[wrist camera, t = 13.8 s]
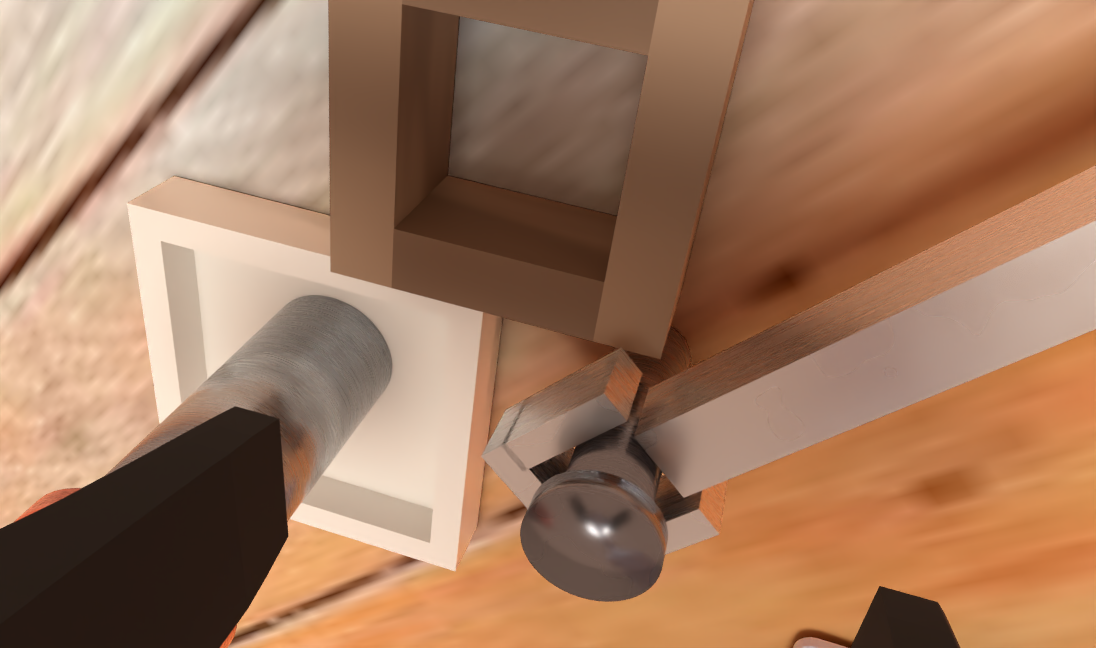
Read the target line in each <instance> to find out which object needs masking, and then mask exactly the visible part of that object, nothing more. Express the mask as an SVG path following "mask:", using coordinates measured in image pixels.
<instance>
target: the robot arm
mask: <svg viewBox="0 0 1096 648" xmlns="http://www.w3.org/2000/svg"><path fill="white" fill-rule="evenodd" d="M287 538H288V525H287V512H286V499H285V485H284V472H283V459H282V445H281V432H280V419H279V418H276V417H272V416H269V415H265V414H262V413H258V412H254V411H251V410H247V409H244V408H240V407H236V406H234V407H233V408H231V409H229V410H227V411H225V412H223V413H221V414H219V415H217V416H215V417H213V418H211V419H209V420H207V421H205V422H204V423H202V424H200V425H198V426H196V427H194V428H192V429H191V430H189V431H187V432H185V433H183V434H181V435H180V436H178V437H176V438H174V439H172V440H171V441H169V442H167V443H165V444H163V445H161V446H160V447H158V448H156V449H154V450H152V451H150V452H149V453H147V454H145V455H143V456H141V457H140V458H138V459H136V460H134V461H132V462H130V463H128V464H127V465H125V466H123V467H121V468H119V469H117V470H115V471H113V472H112V473H110V474H108V475H106V476H104V477H102V478H100V479H98V480H97V481H95V482H93V483H91V484H89V485H87V486H85V487H83V488H81V489H80V490H78V491H76V492H74V493H72V494H70V495H68V496H66V497H64V498H63V499H61V500H59V501H57V502H55V503H53V504H51V505H48V506H46V507H44V508H42V509H40V510H38V511H36V512H34V513H32V514H30V515H28V516H26V517H24V518H22V519H20V520H18V521H16V522H14V523H11V524H9V525H7V526H5V527H3V528H1V529H0V648H220V647H221V645H222V644H223V642H224V641H225V640H226V638H227V637H228V636H229V634H230V633H231V631H232V630H233V629H234V627H235V626H236V624H237V623H238V622H239V620H240V619H241V617H242V616H243V615H244V613H245V612H246V610H247V609H248V607H249V606H250V604H251V602H252V601H253V599H254V597H255V595H256V594H257V592H258V590H259V588H260V587H261V585H262V583H263V582H264V580H265V578H266V576H267V575H268V573H269V571H270V569H271V567H272V565H273V564H274V562H275V560H276V558H277V556H278V554H279V553H280V551H281V549H282V547H283V545H284V543H285V541H286V540H287ZM793 648H848V647H845V646H841V645H838V644H835V643H832V642H828V641H825V640H822V639H819V638H814V637H805V638H802V639H799V640H798V641H797V642H796V643H795V644H794V646H793ZM851 648H960V646H959V644H958V642H957V639H956V637H955V635H954V633H953V631H952V629H951V626H950V624H949V622H948V620H947V618H946V616H945V613H944V612H943V610H942V608H941V607H940V605H939V603H938V602H935V601H931V600H928V599H924V598H921V597H917V596H914V595H910V594H906V593H903V592H899V591H896V590H892V589H888V588H885V587H881V586H879V588H878V591H877V593H876V595H875V597H874V599H873V601H872V603H871V605H870V608H869V610H868V612H867V614H866V616H865V618H864V620H863V622H862V625H861V627H860V629H859V631H858V633H857V635H856V637H855V639H854V641H853V644H852V646H851Z"/></svg>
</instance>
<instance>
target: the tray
mask: <svg viewBox="0 0 1096 648" xmlns="http://www.w3.org/2000/svg"><path fill="white" fill-rule="evenodd" d="M127 207H128V214H129V221H130V227H131V234H132V241H133V248H134V254H135V261H136V268H137V275H138V281H139V288H140V295H141V302H142V308H143V315H144V322H145V329H146V335H147V342H148V349H149V356H150V362H151V369H152V376H153V383H154V389H155V396H156V403H157V410H158V417H159V423H161V422H162V421H164V420H165V419H166V418H167V417H168V416H169V415H170V414H171V413H172V412H173V411H174V410H175V409H176V408H177V407H178V406H179V405H180V404H182V403H183V402H184V401H185V400H186V399H187V398H188V397H189V396H190V395H191V394H192V393H193V392H194V391H195V390H196V389H197V388H198V387H199V386H201V385H202V384H203V383H204V382H205V381H206V380H207V379H208V378H209V377H210V376H211V375H212V374H213V373H214V372H215V371H216V370H217V369H219V368H220V367H221V366H222V365H223V364H224V363H225V362H226V361H227V360H228V359H229V358H230V357H231V356H232V355H233V354H234V353H235V352H236V351H238V350H239V349H240V348H241V347H242V346H243V345H244V344H245V343H246V342H247V341H248V340H249V339H250V338H251V337H252V336H253V335H254V334H255V333H257V332H258V331H259V330H260V329H261V328H262V327H263V326H264V325H265V324H266V323H267V322H268V321H269V320H270V319H271V318H272V317H273V316H275V315H276V314H277V313H278V312H279V311H280V310H281V309H282V308H283V307H284V306H285V305H286V304H288V303H289V302H290V301H292V300H294V299H296V298H299V297H303V296H308V295H321V296H328V297H332V298H335V299H338V300H341V301H343V302H345V303H347V304H349V305H351V306H353V307H354V308H356V309H358V310H359V311H360V312H362V313H363V314H364V315H365V316H366V317H368V318H369V319H370V320H371V321H372V322H373V324H374V325H375V326H376V327H377V328H378V330H379V331H380V332H381V334H382V335H383V337H384V339H385V341H386V343H387V345H388V348H389V350H390V354H391V358H392V375H391V379H390V382H389V384H388V386H387V388H386V389H385V391H384V392H383V394H382V395H381V396H380V398H379V399H378V400H377V402H376V403H375V404H374V406H373V407H372V408H371V410H370V411H369V412H368V414H367V415H366V416H365V418H364V419H363V420H362V422H361V423H360V425H359V426H358V427H357V429H356V430H355V431H354V433H353V434H352V435H351V437H350V438H349V439H348V441H347V442H346V443H345V445H344V446H343V447H342V449H341V450H340V451H339V453H338V454H337V456H336V457H335V458H334V460H333V461H332V462H331V464H330V465H329V466H328V468H327V469H326V470H325V472H324V473H323V474H322V476H321V477H320V478H319V480H318V481H317V482H316V484H315V485H314V487H313V488H312V489H311V491H310V492H309V493H308V495H307V496H306V497H305V499H304V500H303V501H302V503H301V504H300V505H299V507H298V508H297V509H296V511H295V512H294V513H293V515H292V516H291V517H290V519H291V520H294V521H298V522H301V523H304V524H307V525H310V526H313V527H317V528H320V529H323V530H326V531H329V532H332V533H336V534H339V535H342V536H345V537H348V538H351V539H354V540H358V541H361V542H364V543H367V544H370V545H373V546H377V547H380V548H383V549H386V550H389V551H392V552H396V553H399V554H402V555H405V556H408V557H411V558H414V559H418V560H421V561H424V562H427V563H430V564H433V565H437V566H440V567H443V568H446V569H449V570H452V571H456V569H457V567H458V565H459V563H460V561H461V559H462V557H463V555H464V553H465V551H466V549H467V547H468V545H469V542H470V540H471V538H472V536H473V534H474V532H475V530H476V528H477V524H478V516H479V507H480V499H481V491H482V483H483V474H484V466H485V460H484V459H483V458H482V457H481V456H482V454H483V452H484V450H485V448H486V446H487V442H488V433H489V425H490V417H491V409H492V401H493V392H494V384H495V376H496V368H497V359H498V351H499V343H500V335H501V327H502V318H503V317H499V316H495V315H491V314H488V313H484V312H480V311H476V310H472V309H469V308H465V307H461V306H457V305H454V304H450V303H446V302H442V301H439V300H435V299H431V298H427V297H423V296H420V295H416V294H412V293H408V292H405V291H401V290H397V289H393V288H390V287H386V286H382V285H378V284H375V283H371V282H367V281H363V280H359V279H356V278H352V277H348V276H344V275H341V274H337V273H333V272H330V216H329V215H326V214H322V213H318V212H314V211H310V210H306V209H302V208H298V207H294V206H290V205H286V204H282V203H278V202H274V201H270V200H267V199H263V198H259V197H255V196H251V195H247V194H243V193H239V192H235V191H231V190H227V189H223V188H219V187H215V186H212V185H208V184H204V183H200V182H196V181H192V180H188V179H184V178H180V177H176V176H173V177H171V178H170V179H168V180H166V181H165V182H163V183H161V184H159V185H158V186H156V187H154V188H152V189H151V190H149V191H147V192H145V193H144V194H142V195H140V196H139V197H137V198H135V199H133V200H132V201H130V202H128V203H127Z"/></svg>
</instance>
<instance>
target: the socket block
mask: <svg viewBox="0 0 1096 648" xmlns="http://www.w3.org/2000/svg"><path fill="white" fill-rule="evenodd" d="M328 3H329V138H330V272H333V273H337V274H341V275H344V276H348V277H352V278H356V279H359V280H363V281H367V282H371V283H375V284H378V285H382V286H386V287H390V288H393V289H397V290H401V291H405V292H408V293H412V294H416V295H420V296H423V297H427V298H431V299H435V300H439V301H442V302H446V303H450V304H454V305H457V306H461V307H465V308H469V309H472V310H476V311H480V312H484V313H488V314H491V315H495V316H499V317H503V318H506V319H510V320H514V321H518V322H521V323H525V324H529V325H533V326H536V327H540V328H544V329H548V330H552V331H555V332H559V333H563V334H567V335H570V336H574V337H578V338H582V339H585V340H589V341H593V342H597V343H601V344H604V345H608V346H612V347H616V348H621V347H622V348H623V350H627V351H631V352H634V353H638V354H642V355H646V356H649V357H653V358H657V359H661V356H662V353H663V349H664V346H665V343H666V339H667V336H668V333H669V329H670V326H671V323H672V319H673V316H674V313H675V310H676V306H677V303H678V300H679V296H680V293H681V290H682V286H683V282H684V278H685V274H686V270H687V266H688V262H689V258H690V254H691V250H692V246H693V242H694V238H695V234H696V230H697V226H698V222H699V218H700V214H701V210H702V206H703V202H704V198H705V194H706V190H707V186H708V182H709V178H710V174H711V170H712V166H713V162H714V158H715V154H716V150H717V146H718V142H719V138H720V134H721V130H722V126H723V122H724V118H725V114H726V110H727V106H728V102H729V98H730V94H731V90H732V87H733V83H734V79H735V75H736V71H737V67H738V63H739V59H740V55H741V51H742V47H743V43H744V39H745V35H746V31H747V27H748V23H749V19H750V15H751V11H752V7H753V3H754V0H328ZM459 16H462V17H466V18H471V19H476V20H481V21H485V22H490V23H495V24H500V25H504V26H509V27H514V28H519V29H523V30H528V31H533V32H538V33H543V34H547V35H552V36H557V37H562V38H566V39H571V40H576V41H581V42H585V43H590V44H595V45H600V46H605V47H609V48H614V49H619V50H624V51H628V52H633V53H638V54H643V55H647V56H648V59H647V64H646V70H645V75H644V80H643V85H642V90H641V95H640V101H639V106H638V111H637V116H636V121H635V127H634V132H633V137H632V142H631V147H630V152H629V158H628V163H627V168H626V173H625V178H624V183H623V189H622V194H621V199H620V204H619V209H618V215H617V216H614V215H610V214H605V213H601V212H597V211H593V210H589V209H585V208H580V207H576V206H572V205H568V204H564V203H560V202H556V201H551V200H547V199H543V198H539V197H535V196H531V195H527V194H522V193H518V192H514V191H510V190H506V189H502V188H497V187H493V186H489V185H485V184H481V183H477V182H473V181H468V180H464V179H460V178H456V177H452V176H448V164H449V150H450V136H451V123H452V109H453V95H454V81H455V68H456V54H457V40H458V26H459Z"/></svg>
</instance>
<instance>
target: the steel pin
mask: <svg viewBox="0 0 1096 648" xmlns="http://www.w3.org/2000/svg"><path fill="white" fill-rule="evenodd" d="M391 375H392V358H391V354H390V350H389V348H388V345H387V343H386V341H385V339H384V337H383V335H382V334H381V332H380V331H379V330H378V328H377V327H376V326H375V325H374V324H373V322H372V321H371V320H370V319H369V318H368V317H366V316H365V315H364V314H363V313H362V312H360V311H359V310H358V309H356V308H354V307H353V306H351V305H349V304H347V303H345V302H343V301H341V300H338V299H335V298H332V297H328V296H321V295H308V296H303V297H299V298H296V299H294V300H292V301H290V302H289V303H288V304H286V305H285V306H284V307H283V308H282V309H281V310H280V311H279V312H278V313H277V314H276V315H275V316H273V317H272V318H271V319H270V320H269V321H268V322H267V323H266V324H265V325H264V326H263V327H262V328H261V329H260V330H259V331H258V332H257V333H255V334H254V335H253V336H252V337H251V338H250V339H249V340H248V341H247V342H246V343H245V344H244V345H243V346H242V347H241V348H240V349H239V350H238V351H236V352H235V353H234V354H233V355H232V356H231V357H230V358H229V359H228V360H227V361H226V362H225V363H224V364H223V365H222V366H221V367H220V368H219V369H217V370H216V371H215V372H214V373H213V374H212V375H211V376H210V377H209V378H208V379H207V380H206V381H205V382H204V383H203V384H202V385H201V386H199V387H198V388H197V389H196V390H195V391H194V392H193V393H192V394H191V395H190V396H189V397H188V398H187V399H186V400H185V401H184V402H183V403H182V404H180V405H179V406H178V407H177V408H176V409H175V410H174V411H173V412H172V413H171V414H170V415H169V416H168V417H167V418H166V419H165V420H164V421H162V422H161V423H160V424H159V425H158V426H157V427H156V428H155V429H154V430H153V431H152V432H151V433H150V434H149V435H148V436H147V437H146V438H145V439H143V440H142V441H141V442H140V443H139V444H138V445H137V446H136V447H135V448H134V449H133V450H132V451H131V452H130V453H129V454H128V455H127V456H125V457H124V458H123V459H122V460H121V461H120V462H119V463H118V464H117V465H116V466H115V467H114V468H113V469H112V470H111V471H110V472H109V473H108V474H110V473H112V472H113V471H115V470H117V469H119V468H121V467H123V466H125V465H127V464H128V463H130V462H132V461H134V460H136V459H138V458H140V457H141V456H143V455H145V454H147V453H149V452H150V451H152V450H154V449H156V448H158V447H160V446H161V445H163V444H165V443H167V442H169V441H171V440H172V439H174V438H176V437H178V436H180V435H181V434H183V433H185V432H187V431H189V430H191V429H192V428H194V427H196V426H198V425H200V424H202V423H204V422H205V421H207V420H209V419H211V418H213V417H215V416H217V415H219V414H221V413H223V412H225V411H227V410H229V409H231V408H233V407H234V406H236V407H240V408H244V409H247V410H251V411H254V412H258V413H262V414H265V415H269V416H272V417H276V418H279V419H280V432H281V445H282V459H283V472H284V485H285V499H286V512H287V522H288V520H289V519H290V517H291V516H292V515H293V513H294V512H295V511H296V509H297V508H298V507H299V505H300V504H301V503H302V501H303V500H304V499H305V497H306V496H307V495H308V493H309V492H310V491H311V489H312V488H313V487H314V485H315V484H316V482H317V481H318V480H319V478H320V477H321V476H322V474H323V473H324V472H325V470H326V469H327V468H328V466H329V465H330V464H331V462H332V461H333V460H334V458H335V457H336V456H337V454H338V453H339V451H340V450H341V449H342V447H343V446H344V445H345V443H346V442H347V441H348V439H349V438H350V437H351V435H352V434H353V433H354V431H355V430H356V429H357V427H358V426H359V425H360V423H361V422H362V420H363V419H364V418H365V416H366V415H367V414H368V412H369V411H370V410H371V408H372V407H373V406H374V404H375V403H376V402H377V400H378V399H379V398H380V396H381V395H382V394H383V392H384V391H385V389H386V388H387V386H388V384H389V382H390V379H391ZM108 474H106V475H108ZM106 475H105V476H106ZM80 489H81V488H71V489H62V490H57V491H54V492H51V493H49V494H46V495H45V496H43V497H42V498H40V499H39V500H38V501H37V502H36V503H35V504H33V505H32V506H31V507H30V508H29V509H28V510H27V511H26V512H24V513H23V514H22V515H21V516H20V517H19V518H18V519H17V520H16V521H18V520H20V519H22V518H24V517H26V516H28V515H30V514H32V513H34V512H36V511H38V510H40V509H42V508H44V507H46V506H48V505H51V504H53V503H55V502H57V501H59V500H61V499H63V498H64V497H66V496H68V495H70V494H72V493H74V492H76V491H78V490H80ZM16 521H14V522H16ZM14 522H13V523H14ZM236 628H237V624H236V626H235V627H234V629H233V630H232V631H231V633H230V634H229V636H228V637H227V638H226V640H225V641H224V642H223V644H222V645H221V647H220V648H227V647H228V646H229V644H230V643H231V641H232V639H233V637H234V635H235V631H236Z"/></svg>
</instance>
